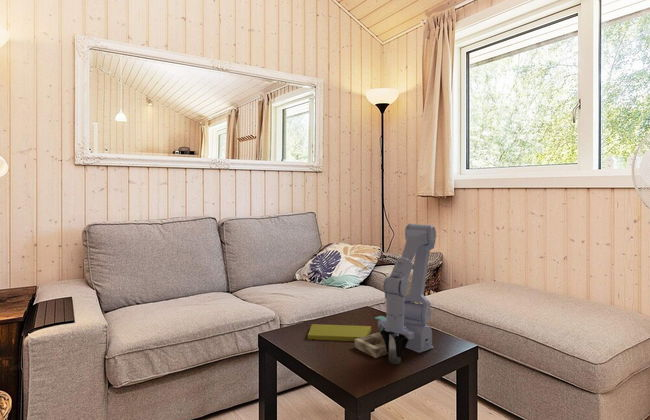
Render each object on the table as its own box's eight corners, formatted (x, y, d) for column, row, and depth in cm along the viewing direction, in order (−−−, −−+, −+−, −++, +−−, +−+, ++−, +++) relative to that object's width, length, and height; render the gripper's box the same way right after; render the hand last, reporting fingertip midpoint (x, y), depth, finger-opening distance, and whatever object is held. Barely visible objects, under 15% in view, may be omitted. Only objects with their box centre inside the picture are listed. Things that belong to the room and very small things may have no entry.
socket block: (402, 349, 141) (402, 340, 141) (375, 358, 134) (375, 349, 134) (381, 339, 150) (381, 331, 150) (354, 347, 143) (354, 339, 143)
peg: (403, 361, 131) (403, 335, 130) (394, 365, 128) (395, 337, 128) (394, 357, 134) (395, 331, 134) (386, 360, 132) (386, 333, 131)
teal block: (402, 340, 141) (403, 323, 141) (395, 342, 139) (396, 325, 139) (381, 331, 150) (381, 315, 150) (374, 333, 148) (374, 317, 148)
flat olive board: (307, 340, 150) (371, 343, 148) (307, 335, 150) (371, 337, 148) (312, 329, 163) (371, 331, 160) (312, 324, 162) (371, 326, 160)
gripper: (371, 310, 134) (370, 349, 135) (403, 321, 122) (402, 365, 123) (386, 306, 138) (386, 344, 139) (418, 317, 126) (418, 359, 127)
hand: (394, 354), depth 131 cm, fingers closed on peg, 4 cm apart
